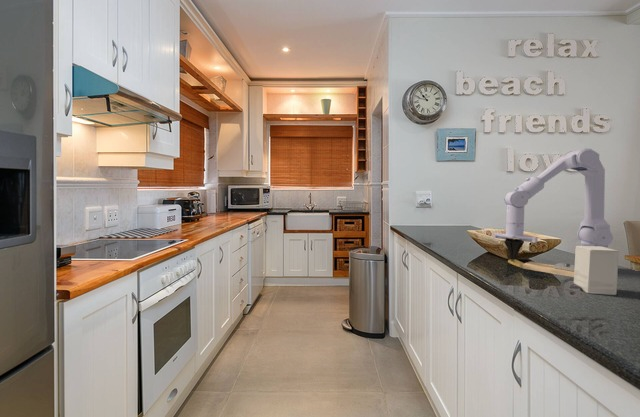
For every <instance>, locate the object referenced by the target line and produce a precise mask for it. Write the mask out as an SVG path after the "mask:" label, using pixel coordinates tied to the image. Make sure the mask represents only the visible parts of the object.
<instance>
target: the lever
mask: <svg viewBox="0 0 640 417" xmlns="http://www.w3.org/2000/svg"><path fill="white" fill-rule="evenodd" d="M507 263H509V264H511V265H512V266H514V267H518V268H520V264H521V265H523V264H525V263H524V262H523V261H520V260H518V259H516V260H512V259H508V260H507Z"/></svg>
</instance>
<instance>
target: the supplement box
mask: <svg viewBox="0 0 640 417" xmlns="http://www.w3.org/2000/svg"><path fill="white" fill-rule="evenodd" d="M574 251H575V252H574V256H575V257H574V265H575V270H574V277H573V284H575V285H577V286H578V287H580V288H579V290H581V291H583V292H584V293H586V294H594V295H609V296H616V295H617V291H618V289H617V288H618V287H617V286H618V272H619V271H618V270H619V255H620V254H619V251H620V250H616V249H613V248H610V247H607V248H606V247H602V246H581V245H575V250H574Z"/></svg>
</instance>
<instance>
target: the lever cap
mask: <svg viewBox="0 0 640 417" xmlns="http://www.w3.org/2000/svg"><path fill="white" fill-rule="evenodd" d="M553 265H554V268H557V269H564V270H570V271H574V270H575V264H571V263H568V262H567V263H566V262H565V263H562V262H558V263H556V264H553Z"/></svg>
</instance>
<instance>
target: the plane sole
mask: <svg viewBox="0 0 640 417" xmlns="http://www.w3.org/2000/svg"><path fill="white" fill-rule="evenodd" d="M554 265H555V264H549V263H544V262H537V261H536V262H535V261H530V260H529V261H528V262H527V261H526V262H525V264H523V265H521V264H520V267H519V268H521V269H524V270H531V271H535V272H542V273H548V274H554V275H561V276H566V277H570V278H571V277H572V278H574V271H570V270H564V269H557V268H554Z"/></svg>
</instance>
